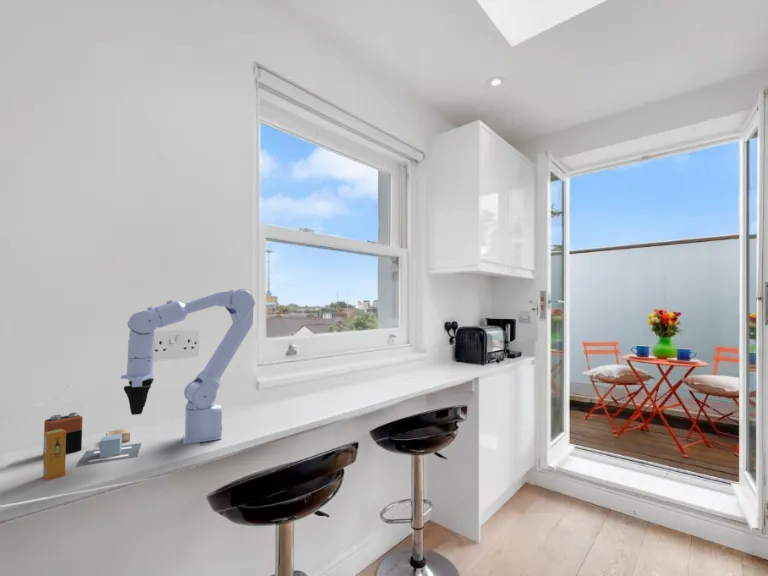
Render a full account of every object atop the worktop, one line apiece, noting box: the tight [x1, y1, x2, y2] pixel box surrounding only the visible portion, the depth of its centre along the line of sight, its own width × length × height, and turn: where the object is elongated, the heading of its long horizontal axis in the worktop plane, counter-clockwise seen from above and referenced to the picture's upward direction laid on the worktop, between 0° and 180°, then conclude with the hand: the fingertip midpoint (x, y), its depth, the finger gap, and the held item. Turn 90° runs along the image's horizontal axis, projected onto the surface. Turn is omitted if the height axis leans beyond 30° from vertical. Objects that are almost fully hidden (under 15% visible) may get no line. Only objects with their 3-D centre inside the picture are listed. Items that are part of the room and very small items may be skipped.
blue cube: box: [99, 434, 123, 458], centre depth 95 cm, size 4×4×4 cm
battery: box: [42, 412, 83, 456], centre depth 96 cm, size 4×7×10 cm, turn 143°
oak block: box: [105, 427, 131, 444], centre depth 104 cm, size 5×5×3 cm
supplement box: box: [42, 429, 67, 481], centre depth 83 cm, size 3×3×10 cm
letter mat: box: [75, 442, 142, 468], centre depth 95 cm, size 12×11×1 cm
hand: (138, 410), depth 98 cm, fingers open, 7 cm apart
